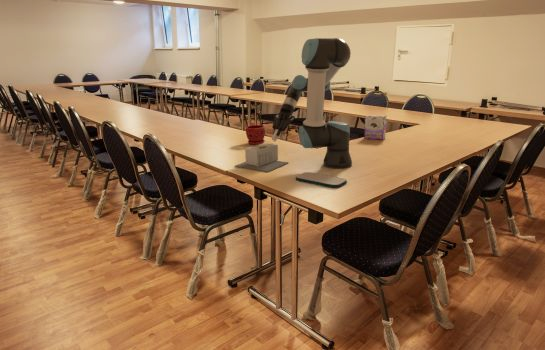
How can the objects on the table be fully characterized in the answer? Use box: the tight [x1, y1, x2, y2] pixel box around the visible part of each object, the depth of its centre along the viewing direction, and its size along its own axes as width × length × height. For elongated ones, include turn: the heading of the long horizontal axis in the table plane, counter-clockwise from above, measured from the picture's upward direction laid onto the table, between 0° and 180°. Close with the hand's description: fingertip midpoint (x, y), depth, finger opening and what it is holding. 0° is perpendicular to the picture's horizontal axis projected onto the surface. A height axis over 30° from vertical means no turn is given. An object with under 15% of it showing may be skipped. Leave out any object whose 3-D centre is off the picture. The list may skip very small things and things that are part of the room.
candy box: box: [363, 114, 387, 141], centre depth 267 cm, size 14×6×16 cm, turn 58°
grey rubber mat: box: [234, 160, 289, 173], centre depth 209 cm, size 22×20×1 cm
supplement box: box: [244, 142, 279, 166], centre depth 212 cm, size 10×9×17 cm
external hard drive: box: [295, 171, 348, 189], centre depth 179 cm, size 24×12×2 cm, turn 52°
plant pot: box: [245, 124, 266, 146], centre depth 262 cm, size 13×13×12 cm
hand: (273, 140), depth 216 cm, fingers closed
